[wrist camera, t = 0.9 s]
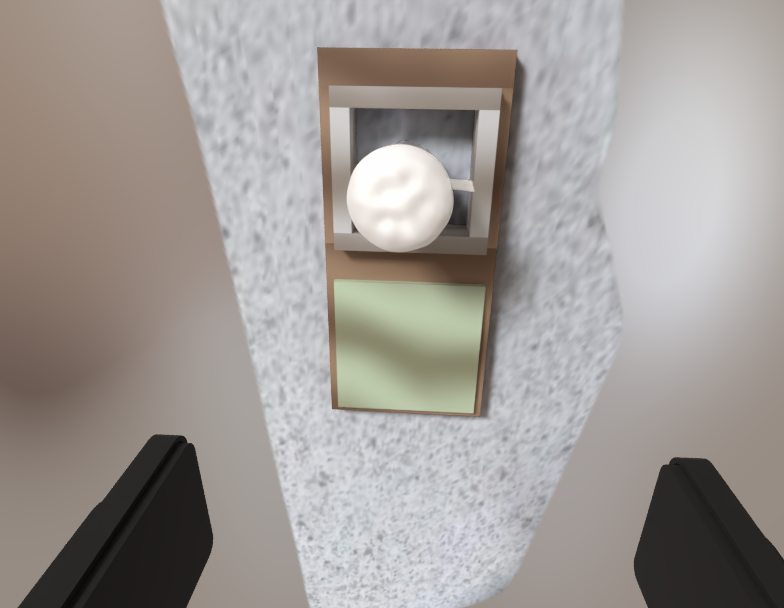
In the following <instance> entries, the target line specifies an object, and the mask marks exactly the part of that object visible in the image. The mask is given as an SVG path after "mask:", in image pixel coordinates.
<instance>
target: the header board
mask: <svg viewBox="0 0 784 608" xmlns="http://www.w3.org/2000/svg"><path fill="white" fill-rule="evenodd" d="M317 53H318V77H319V102H320V126H321V150H322V175H323V199H324V224H325V248H326V273H327V297H328V322H329V346H330V371H331V395H332V409H341V410H361V411H382V412H402V413H422V414H443V415H463V416H480V410H481V400H482V390H483V380H484V371H485V361H486V351H487V341H488V332H489V322H490V312H491V302H492V293H493V283H494V273H495V263H496V254H497V244H498V234H499V224H500V215H501V205H502V195H503V185H504V176H505V166H506V156H507V146H508V137H509V127H510V117H511V107H512V98H513V88H514V78H515V68H516V58H517V50H485V49H403V48H320V47H317ZM356 108H395V109H450V110H475V117H474V130H473V143H472V156H471V170H470V180H471V181H473V183H474V186H475V190H476V192H469V196H468V209H467V223H466V225H446V226H445V228H444V229H443V230H442V232H441V233H440V234H439V235H438V237H437V238H436V239H435V240H434V241H433V242H431V243H430V244H428V245H427V246H424V247H422V248H419V249H415V250H411V251H407V252H390V251H386V250H383V249H381V248H379V247H377V246H375V245H374V244H372V243H371V242H370V241H368V240H367V239H366V238H365V237H364V236H362V234H361V233H360V232H359V231H358V230H357V228H356V227H355V225H354V223H353V221H352V219H351V217H350V214H349V211H348V207H347V190H348V185H349V181H350V178H351V175H352V173H353V171H354V169H355V167H356Z"/></svg>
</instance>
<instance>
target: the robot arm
mask: <svg viewBox="0 0 784 608" xmlns="http://www.w3.org/2000/svg"><path fill="white" fill-rule="evenodd" d="M212 545H213V533H212V528H211V524H210V519H209V514H208V509H207V504H206V500H205V495H204V490H203V485H202V480H201V475H200V470H199V466H198V461H197V456H196V451H195V447H194V445H193V444H192V443H187V440H186V438H185V437H184V436H180V435H179V436H178V435H157V434H156V435H153V436H152V437H151V438H150V439H149V440H148V441H147V443H146V444H145V446H144V447H143V448H142V450H141V451H140V452H139V453H138V455H137V456H136V457H135V459H134V460H133V461H132V463H131V464H130V465H129V467H128V468H127V469H126V471H125V472H124V473H123V475H122V476H121V477H120V479H119V480H118V481H117V483H116V484H115V485H114V486H113V488H112V489H111V490H110V492H109V493H108V494H107V496H106V497H105V498H104V500H103V501H102V502H101V503H99V504H98V505H97V506H96V507H95V508H94V509H93V510H92V511H91V512H90V514H89V515H88V516H87V518H86V519H85V520H84V522H83V523H82V524H81V526H80V527H79V528H78V529H77V531H76V532H75V533H74V535H73V536H72V537H71V539H70V540H69V541H68V543H67V544H66V545H65V546H64V548H63V549H62V550H61V552H60V553H59V554H58V556H57V557H56V558H55V560H54V561H53V562H52V564H51V565H50V566H49V567H48V569H47V570H46V572H45V573H44V574H43V575H42V577H41V578H40V579H39V581H38V582H37V583H36V584H35V586H34V587H33V588H32V590H31V591H30V592H29V594H28V595H27V596H26V598H25V599H24V600H23V602H22V603H21V604H20V605H19V607H18V608H186V607H187V605H188V603H189V600H190V598H191V596H192V594H193V591H194V589H195V587H196V585H197V582H198V580H199V578H200V576H201V573H202V571H203V569H204V567H205V565H206V563H207V560H208V558H209V556H210V553H211V550H212ZM634 571H635V576H636V579H637V582H638V584H639V587H640V589H641V591H642V594H643V596H644V599H645V601H646V604H647V606H648V608H784V559H783V558H782V557H781V555H780V554H779V552H778V551H777V550H776V548H775V547H774V546H773V545H772V543H771V542H770V541H769V540H768V539H767V538H765V536H764V535H763V533H762V532H761V531H760V529H759V528H758V527H757V526H756V524H755V523H754V521H753V520H752V518H751V517H750V515H749V514H748V513H747V511H746V510H745V509H744V507H743V506H742V504H741V503H740V502H739V500H738V499H737V498H736V496H735V495H734V493H733V492H732V491H731V489H730V488H729V486H728V485H727V484H726V482H725V481H724V480H723V478H722V477H721V475H720V474H719V473H718V471H717V470H716V469H715V467H714V466H713V465H712V463H711V462H710V461H709V460H707V459H701V458H678V457H677V458H673V459H671V461H670V463H669V465H663V466H662V467H661V469H660V472H659V476H658V479H657V483H656V486H655V489H654V493H653V496H652V500H651V503H650V507H649V510H648V514H647V517H646V521H645V524H644V527H643V531H642V534H641V537H640V541H639V544H638V548H637V551H636V555H635V558H634Z"/></svg>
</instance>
